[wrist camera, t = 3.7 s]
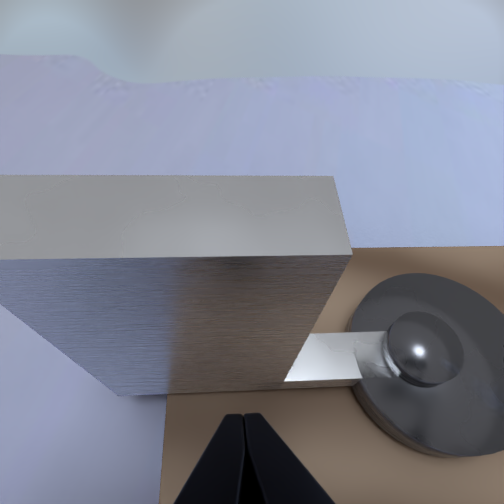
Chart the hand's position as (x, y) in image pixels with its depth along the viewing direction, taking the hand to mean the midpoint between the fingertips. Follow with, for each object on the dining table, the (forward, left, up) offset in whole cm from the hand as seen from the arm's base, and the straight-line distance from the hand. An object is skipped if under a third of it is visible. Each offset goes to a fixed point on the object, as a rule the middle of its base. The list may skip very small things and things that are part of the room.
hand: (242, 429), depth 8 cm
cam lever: (+5, -2, -7) cm, 9 cm away
